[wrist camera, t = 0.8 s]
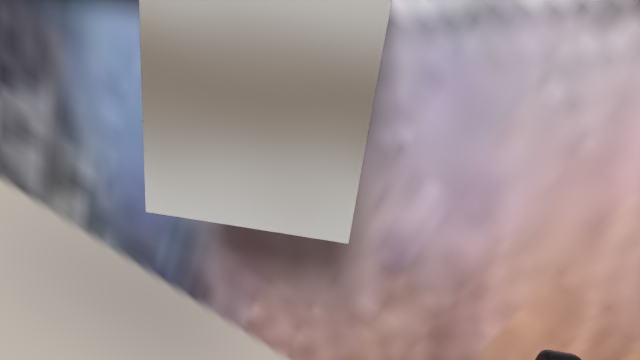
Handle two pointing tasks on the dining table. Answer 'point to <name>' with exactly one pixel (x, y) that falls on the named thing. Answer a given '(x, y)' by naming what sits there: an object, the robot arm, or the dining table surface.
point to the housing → (259, 110)
